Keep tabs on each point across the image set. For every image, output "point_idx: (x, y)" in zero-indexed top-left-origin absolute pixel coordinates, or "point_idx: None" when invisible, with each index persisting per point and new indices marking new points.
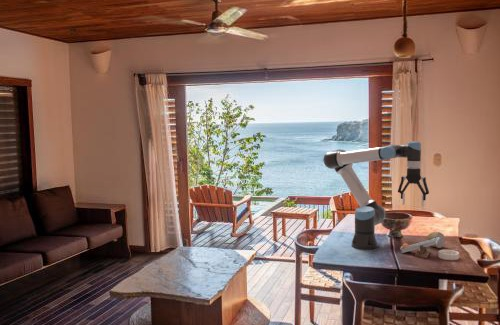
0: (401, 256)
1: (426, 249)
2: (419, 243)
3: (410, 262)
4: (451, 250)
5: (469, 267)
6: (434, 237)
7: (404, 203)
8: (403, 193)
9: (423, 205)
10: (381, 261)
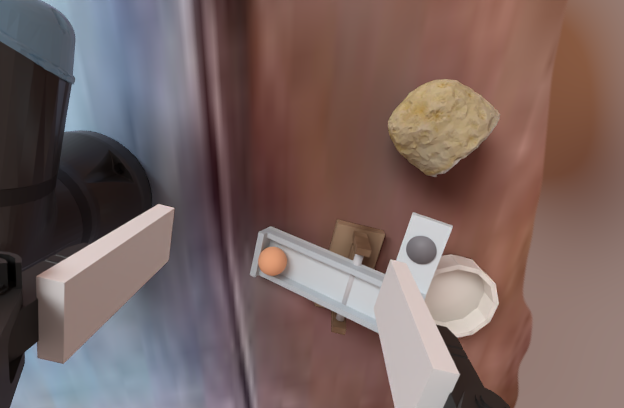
0: (261, 308)
1: (368, 233)
2: (335, 266)
3: (292, 369)
4: (475, 272)
5: (490, 386)
6: (430, 168)
7: (168, 224)
8: (40, 303)
9: (404, 267)
10: (194, 374)
